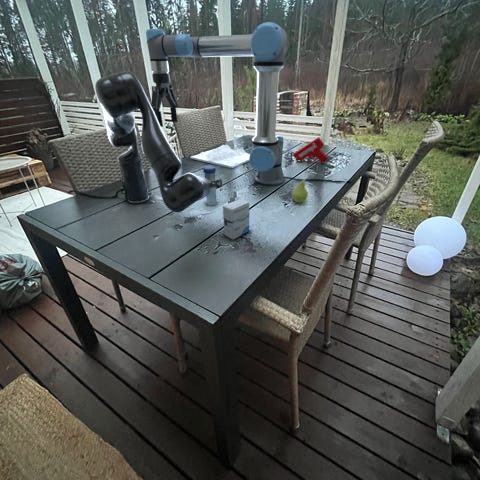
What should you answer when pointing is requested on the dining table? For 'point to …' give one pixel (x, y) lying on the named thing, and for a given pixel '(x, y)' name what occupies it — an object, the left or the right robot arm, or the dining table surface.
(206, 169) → the lid
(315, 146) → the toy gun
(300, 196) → the fruit
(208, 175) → the grey capped tube
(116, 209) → the dining table surface
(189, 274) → the dining table surface
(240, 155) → the relief map
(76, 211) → the dining table surface
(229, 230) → the ink box
